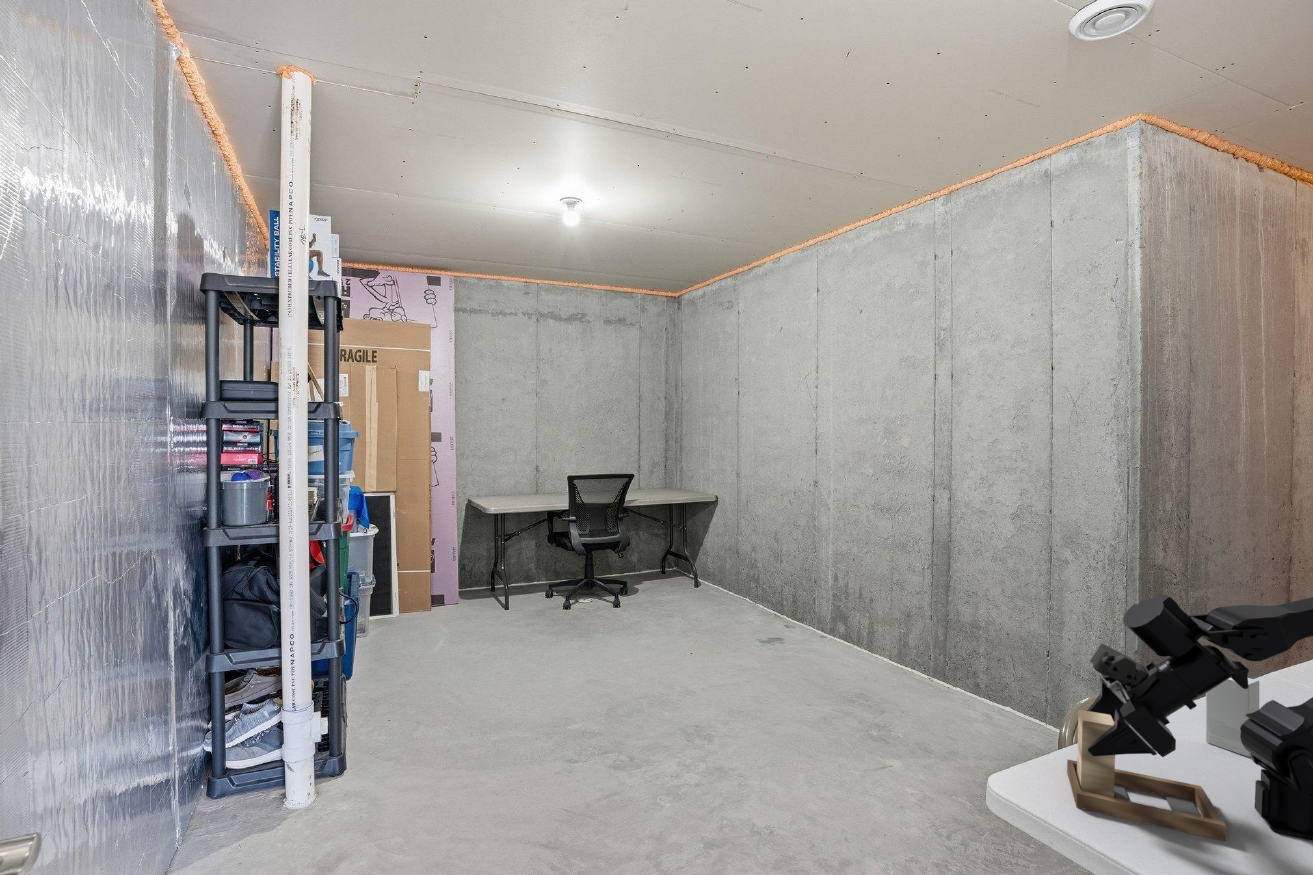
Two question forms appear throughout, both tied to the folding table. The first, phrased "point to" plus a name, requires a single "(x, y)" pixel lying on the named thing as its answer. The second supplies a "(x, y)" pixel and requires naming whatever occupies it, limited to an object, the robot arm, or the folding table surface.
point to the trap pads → (1173, 801)
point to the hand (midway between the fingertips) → (1085, 738)
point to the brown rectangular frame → (1197, 825)
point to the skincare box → (1230, 713)
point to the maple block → (1091, 769)
